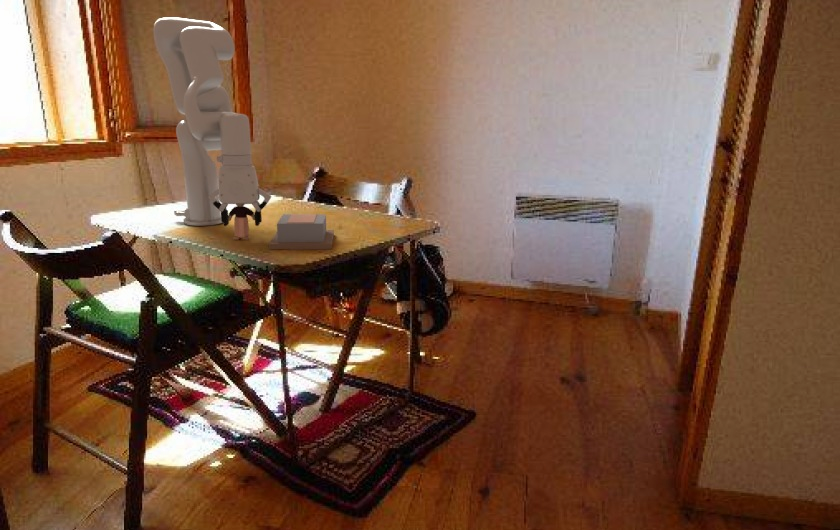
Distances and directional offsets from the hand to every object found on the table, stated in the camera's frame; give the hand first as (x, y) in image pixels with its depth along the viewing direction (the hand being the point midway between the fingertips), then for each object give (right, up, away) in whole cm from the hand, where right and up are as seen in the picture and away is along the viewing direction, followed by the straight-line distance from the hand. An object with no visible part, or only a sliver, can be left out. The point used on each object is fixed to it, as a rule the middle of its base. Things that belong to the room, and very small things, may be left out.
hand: (242, 224), depth 150 cm
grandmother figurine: (0, -4, +1) cm, 4 cm away
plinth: (+17, -5, -1) cm, 18 cm away
